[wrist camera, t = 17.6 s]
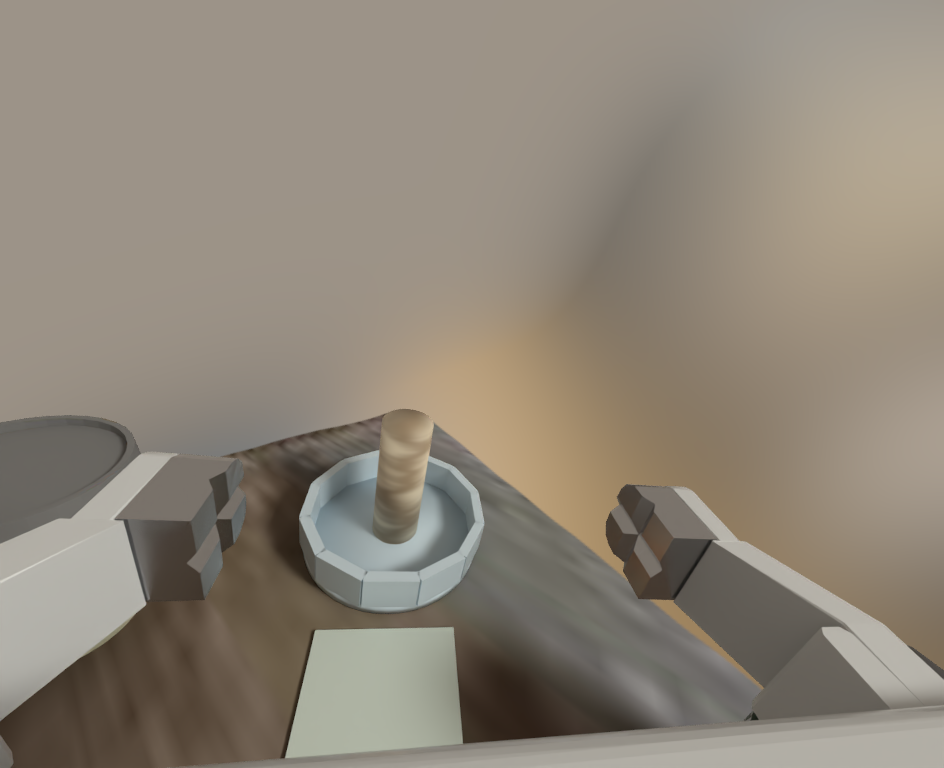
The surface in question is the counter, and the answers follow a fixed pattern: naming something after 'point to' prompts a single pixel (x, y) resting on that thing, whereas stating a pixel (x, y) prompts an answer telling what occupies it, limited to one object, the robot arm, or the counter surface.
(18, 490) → the reusable coffee cup
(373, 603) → the bowl
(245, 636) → the counter surface
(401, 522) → the pepper mill
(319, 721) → the mat
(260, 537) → the counter surface
